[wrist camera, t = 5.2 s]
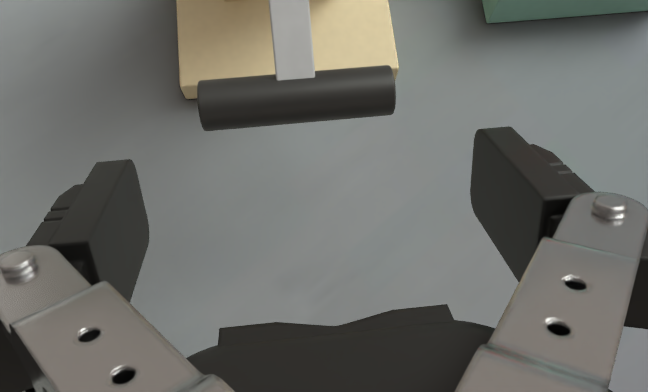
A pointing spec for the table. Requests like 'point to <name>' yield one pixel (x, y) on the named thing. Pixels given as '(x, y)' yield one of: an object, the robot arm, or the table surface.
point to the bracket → (256, 38)
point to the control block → (555, 8)
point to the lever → (295, 83)
